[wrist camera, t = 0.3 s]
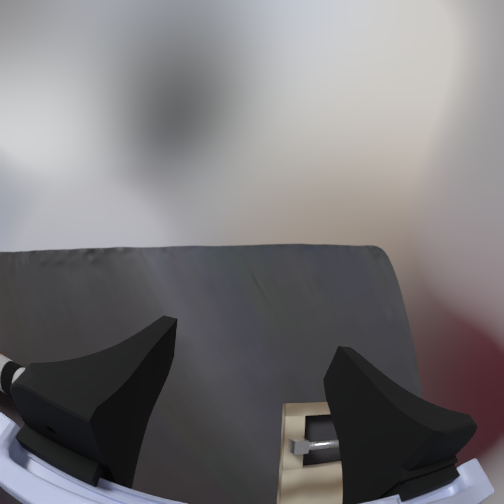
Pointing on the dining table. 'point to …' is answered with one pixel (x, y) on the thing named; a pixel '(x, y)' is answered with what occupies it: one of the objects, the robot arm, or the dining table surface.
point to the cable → (8, 373)
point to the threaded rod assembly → (308, 445)
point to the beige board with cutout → (308, 476)
